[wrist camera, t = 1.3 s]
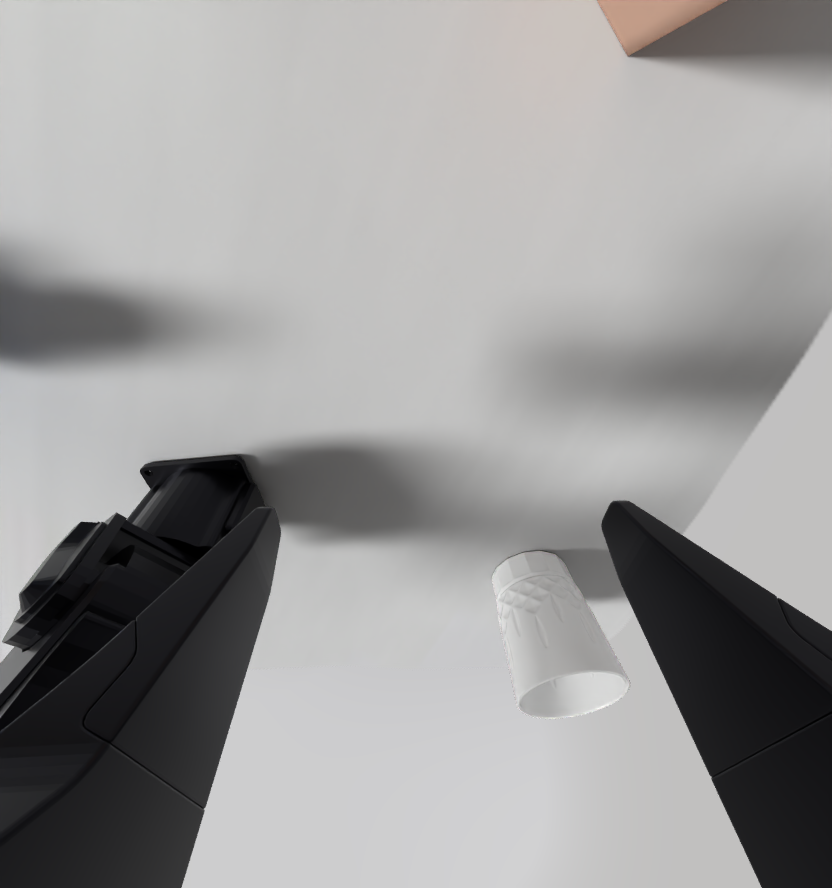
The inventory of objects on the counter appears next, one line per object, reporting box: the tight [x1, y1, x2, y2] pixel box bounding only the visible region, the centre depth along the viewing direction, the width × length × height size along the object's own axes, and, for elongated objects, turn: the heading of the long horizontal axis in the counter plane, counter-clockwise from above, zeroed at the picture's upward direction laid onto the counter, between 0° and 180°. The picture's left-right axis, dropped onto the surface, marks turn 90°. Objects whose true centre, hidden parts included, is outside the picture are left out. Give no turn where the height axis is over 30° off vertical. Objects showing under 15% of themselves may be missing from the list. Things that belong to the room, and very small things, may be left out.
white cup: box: [492, 551, 630, 719], centre depth 29 cm, size 8×8×10 cm
